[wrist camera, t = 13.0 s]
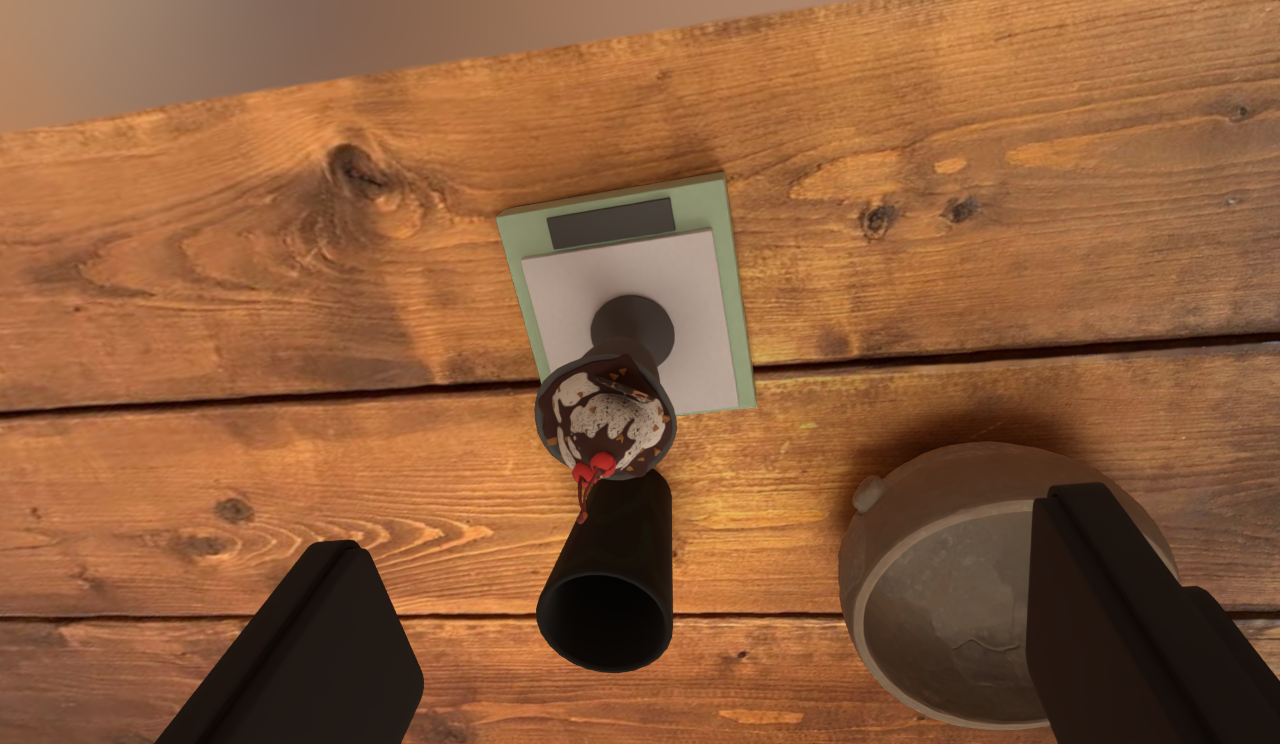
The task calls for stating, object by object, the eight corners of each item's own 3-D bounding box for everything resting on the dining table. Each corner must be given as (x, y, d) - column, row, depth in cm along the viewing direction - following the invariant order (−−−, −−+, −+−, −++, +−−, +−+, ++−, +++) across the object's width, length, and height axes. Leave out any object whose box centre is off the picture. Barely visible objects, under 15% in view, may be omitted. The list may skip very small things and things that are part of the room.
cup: (565, 456, 51) (519, 576, 40) (674, 442, 49) (656, 564, 38) (592, 544, 54) (556, 678, 43) (695, 534, 52) (684, 670, 42)
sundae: (610, 401, 45) (555, 566, 32) (557, 307, 43) (474, 443, 30) (708, 362, 43) (694, 521, 30) (658, 262, 41) (619, 386, 28)
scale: (504, 208, 43) (491, 220, 41) (724, 170, 41) (723, 180, 39) (560, 414, 49) (551, 434, 47) (756, 392, 47) (757, 412, 44)
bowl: (784, 470, 49) (794, 573, 40) (1061, 355, 43) (1144, 446, 34) (891, 644, 55) (920, 769, 46) (1148, 563, 49) (1239, 688, 40)
